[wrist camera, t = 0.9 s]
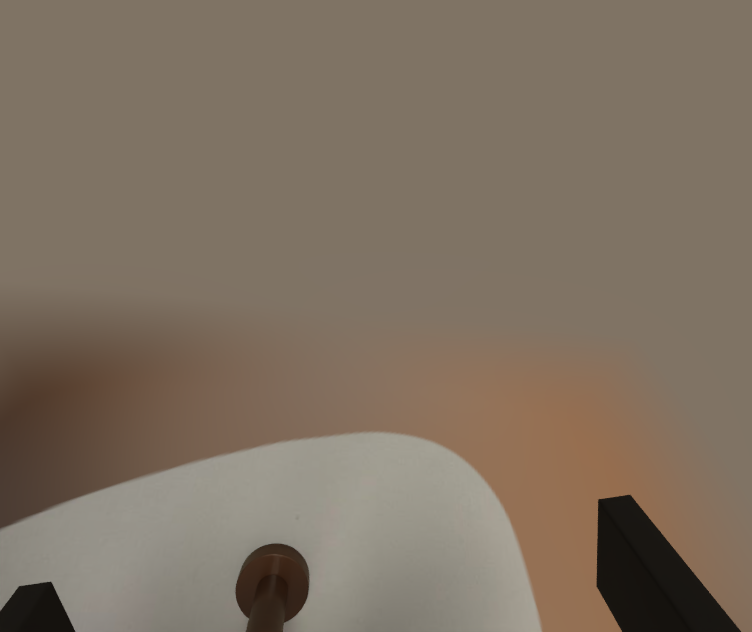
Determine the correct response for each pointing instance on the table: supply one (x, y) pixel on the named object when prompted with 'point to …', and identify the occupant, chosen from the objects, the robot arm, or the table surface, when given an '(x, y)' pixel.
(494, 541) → the table surface
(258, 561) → the stick
